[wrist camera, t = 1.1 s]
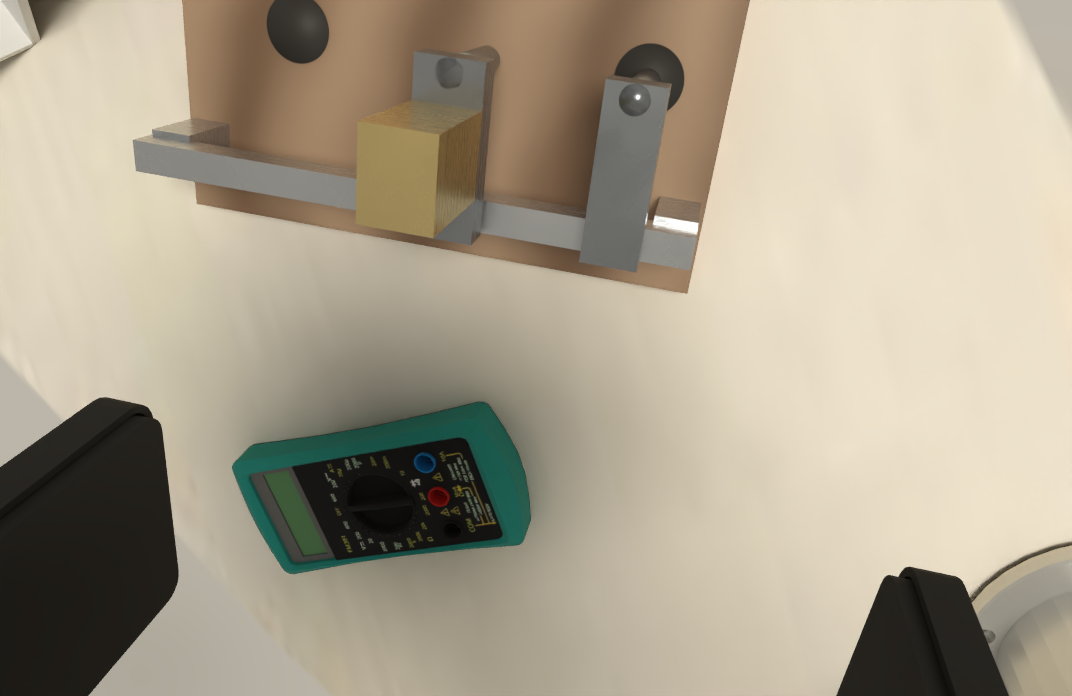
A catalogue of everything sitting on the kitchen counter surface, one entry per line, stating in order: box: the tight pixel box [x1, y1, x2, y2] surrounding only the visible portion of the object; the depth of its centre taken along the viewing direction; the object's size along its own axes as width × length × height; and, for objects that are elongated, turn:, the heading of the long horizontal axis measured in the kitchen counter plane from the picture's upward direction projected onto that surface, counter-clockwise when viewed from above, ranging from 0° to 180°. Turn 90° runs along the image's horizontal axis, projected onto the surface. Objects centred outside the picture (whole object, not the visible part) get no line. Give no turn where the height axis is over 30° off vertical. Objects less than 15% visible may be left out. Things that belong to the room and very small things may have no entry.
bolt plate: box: [133, 0, 750, 294], centre depth 30 cm, size 22×12×7 cm, turn 83°
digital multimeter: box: [232, 402, 531, 574], centre depth 41 cm, size 7×15×3 cm, turn 107°
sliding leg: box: [356, 45, 500, 245], centre depth 27 cm, size 2×6×9 cm, turn 173°
